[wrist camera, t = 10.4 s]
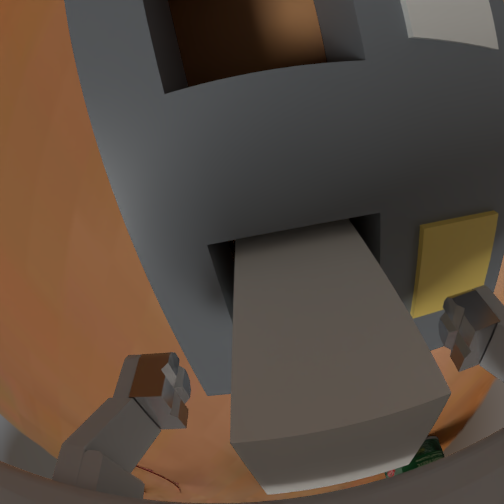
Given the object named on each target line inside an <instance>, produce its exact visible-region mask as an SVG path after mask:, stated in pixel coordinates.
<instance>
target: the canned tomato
mask: <svg viewBox="0 0 504 504" xmlns="http://www.w3.org/2000/svg"><path fill="white" fill-rule="evenodd" d="M438 440H439V439H438V437H436V436H428V437H426V439H425V441H424V442H423V444H422V445H421V447H420V448H419V450H418V451H417V453H416V455H415V456H414V457H413V459H412V460H411V462H410V463H409V465H406V466H403V467H400V468H396V469H393V470H390V471H387V472H385V475H386V478H389V477H392V476H395V475H398V474H401V473H404V472H407V471H410V470H413V469H416V468H418V467H421V466H424V465H426V464H429V463H431V462H434V461H436V460H439V459H441V458H444V454H443V451H442V448H441V446H440V443H439V441H438Z"/></svg>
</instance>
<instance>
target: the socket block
mask: <svg viewBox="0 0 504 504" xmlns="http://www.w3.org/2000/svg"><path fill="white" fill-rule="evenodd" d="M64 1H65V8H66V14H67V21H68V26H69V32H70V37H71V43H72V48H73V53H74V57H75V62H76V66H77V71H78V75H79V79H80V84H81V88H82V92H83V96H84V99H85V103H86V107H87V111H88V114H89V118H90V121H91V125H92V128H93V132H94V135H95V138H96V142H97V145H98V148H99V151H100V154H101V157H102V161H103V164H104V167H105V170H106V173H107V176H108V178H109V181H110V184H111V187H112V190H113V193H114V195H115V198H116V201H117V204H118V206H119V209H120V212H121V214H122V217H123V220H124V222H125V225H126V227H127V230H128V232H129V235H130V237H131V240H132V242H133V245H134V247H135V250H136V252H137V254H138V257H139V259H140V261H141V264H142V266H143V268H144V271H145V273H146V275H147V278H148V280H149V282H150V284H151V286H152V289H153V291H154V293H155V295H156V297H157V300H158V302H159V304H160V306H161V308H162V310H163V312H164V314H165V316H166V318H167V320H168V323H169V325H170V327H171V329H172V331H173V333H174V335H175V337H176V339H177V341H178V342H179V344H180V346H181V348H182V350H183V352H184V354H185V356H186V358H187V360H188V362H189V363H190V365H191V367H192V369H193V371H194V373H195V375H196V376H197V378H198V380H199V382H200V384H201V385H202V387H203V389H204V391H205V392H206V394H207V396H212V395H222V394H231V373H232V332H233V298H234V268H235V264H234V260H233V257H232V253H231V250H230V246H229V242H228V241H230V240H235V239H241V238H246V237H251V236H256V235H261V234H267V233H272V232H277V231H282V230H288V229H293V228H298V227H304V226H309V225H314V224H320V223H325V222H331V221H336V220H342V219H347V218H348V219H349V220H350V222H351V223H352V225H353V226H354V227H355V229H356V230H357V232H358V233H359V235H360V236H361V238H362V239H363V241H364V242H365V244H366V245H367V247H368V248H369V250H370V251H371V253H372V254H373V256H374V257H375V259H376V260H377V262H378V263H379V265H380V267H381V268H382V270H383V271H384V273H385V274H386V276H387V278H388V279H389V281H390V282H391V284H392V286H393V287H394V289H395V290H396V292H397V294H398V295H399V297H400V299H401V300H402V302H403V304H404V305H405V307H406V309H407V311H408V312H409V314H410V316H411V317H412V319H413V321H414V323H415V324H416V326H417V328H418V330H419V332H420V333H421V335H422V337H423V339H424V341H425V342H426V344H427V346H428V348H429V350H430V351H431V350H434V349H437V348H440V347H443V346H444V345H443V343H442V341H441V339H440V336H439V329H438V325H439V320H440V317H441V316H442V315H443V314H444V312H445V310H444V309H443V304H444V301H445V299H446V298H447V297H449V296H452V295H455V294H458V293H461V292H464V291H467V290H471V289H474V288H477V287H479V286H482V285H485V286H487V287H488V288H489V289H490V290H491V291H492V292H494V289H495V285H496V282H497V278H498V275H499V271H500V267H501V263H502V259H503V255H504V2H503V0H314V4H315V8H316V12H317V16H318V21H319V25H320V29H321V34H322V39H323V43H324V48H325V53H326V58H327V63H318V64H309V65H300V66H292V67H285V68H278V69H272V70H266V71H260V72H254V73H249V74H244V75H239V76H234V77H229V78H224V79H220V80H216V81H211V82H207V83H203V84H199V85H195V86H192V87H188V83H187V79H186V75H185V71H184V67H183V63H182V58H181V54H180V50H179V46H178V42H177V37H176V33H175V29H174V24H173V20H172V16H171V11H170V7H169V2H168V0H64Z"/></svg>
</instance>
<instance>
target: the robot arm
mask: <svg viewBox="0 0 504 504" xmlns="http://www.w3.org/2000/svg"><path fill="white" fill-rule="evenodd" d="M443 309H444V310H445V312H444V314H443V315H442V316H441V317H440V320H439V325H438V329H439V336H440V339H441V341H442V343H443V345H444V346H445V347H447V348H449V349H451V354H450V357H451V359H452V361H453V362H454V364H455V366H456V368H457V370H458V372H460V371H463V370H465V369H468V368H470V367H473V366H475V365H478V364H480V366H481V367H483V368H484V369H486V370H487V371H488V372H490V373H491V374H493V375H494V376H495V377H497V378H498V379H500V380H501V381H502V382H504V306H503V304H502V303H501V302H500V301H499V299H498V298H497V297H496V296H495V295H494V294H493V292H492V291H491V290H490V289H489V288H488V287H487V286H485V285H482V286H479V287H477V288H474V289H471V290H467V291H464V292H461V293H458V294H455V295H452V296H449V297H447V298H446V299H445V301H444V304H443ZM190 392H191V388H190V380H189V377H188V374H187V372H186V370H185V369H184V368H182V367H180V366H179V358H178V357H177V355H176V353H173V352H170V353H155V354H142V355H128V356H127V357H126V358H125V360H124V363H123V366H122V370H121V373H120V376H119V379H118V382H117V386H116V389H115V392H114V396H113V398H108V399H107V400H106V401H105V402H104V403H103V404H102V405H101V406H100V407H99V408H98V409H97V410H96V411H95V412H94V413H93V414H92V415H91V416H90V417H89V418H88V419H87V420H86V421H85V422H84V423H83V424H82V425H81V426H80V427H79V428H78V429H77V430H76V431H75V432H74V433H73V434H72V435H71V436H70V437H69V438H68V439H67V440H66V441H65V442H64V443H63V444H62V446H61V450H60V453H59V456H58V460H57V464H56V467H55V471H54V474H53V478H52V480H51V479H48V478H44V477H42V476H39V475H35V474H33V473H30V472H27V471H24V470H22V469H19V468H16V467H14V466H11V465H8V464H6V463H4V462H1V461H0V504H504V428H502V429H500V430H499V431H497V432H495V433H493V434H491V435H490V436H488V437H486V438H484V439H482V440H480V441H478V442H476V443H474V444H472V445H470V446H468V447H466V448H464V449H462V450H459V451H457V452H455V453H453V454H451V455H448V456H446V457H444V458H441V459H439V460H436V461H434V462H431V463H429V464H426V465H424V466H421V467H418V468H416V469H413V470H410V471H407V472H404V473H401V474H398V475H395V476H392V477H389V478H385V479H382V480H379V481H375V482H371V483H368V484H364V485H360V486H356V487H352V488H348V489H343V490H338V491H334V492H329V493H323V494H318V495H312V496H306V497H299V498H292V499H283V500H274V501H263V502H249V503H182V502H167V501H156V500H147V499H143V494H144V485H145V484H144V483H143V482H142V481H141V480H140V479H138V478H137V477H135V476H134V475H132V474H131V472H132V471H133V469H134V468H135V466H136V465H137V464H138V462H139V461H140V460H141V458H142V457H143V455H144V454H145V453H146V451H147V450H148V448H149V447H150V446H151V444H152V443H153V442H154V440H155V439H156V437H157V436H158V435H159V433H160V432H161V430H160V429H181V428H187V419H188V408H187V407H186V406H185V403H186V402H187V401H188V399H189V398H190Z"/></svg>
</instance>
